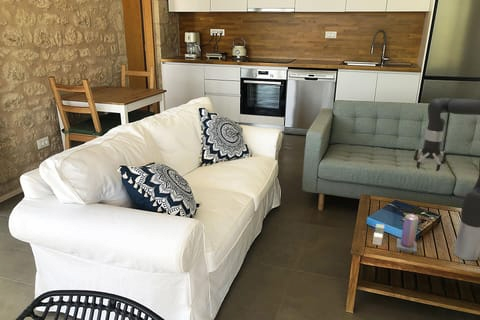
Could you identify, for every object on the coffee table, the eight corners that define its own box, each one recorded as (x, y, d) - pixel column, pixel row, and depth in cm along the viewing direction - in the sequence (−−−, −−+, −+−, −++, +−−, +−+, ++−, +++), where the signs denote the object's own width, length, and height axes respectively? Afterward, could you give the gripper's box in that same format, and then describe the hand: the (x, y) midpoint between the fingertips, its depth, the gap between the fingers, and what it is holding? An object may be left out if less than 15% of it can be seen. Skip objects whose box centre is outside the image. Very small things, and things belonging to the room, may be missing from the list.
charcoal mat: (416, 243, 192) (416, 241, 191) (416, 253, 184) (417, 251, 183) (396, 240, 195) (396, 238, 194) (396, 249, 187) (396, 247, 186)
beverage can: (399, 245, 187) (404, 218, 182) (401, 240, 192) (405, 212, 187) (413, 249, 185) (418, 220, 180) (414, 243, 190) (419, 215, 185)
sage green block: (383, 232, 202) (384, 225, 200) (383, 236, 198) (384, 228, 197) (375, 231, 203) (376, 223, 202) (374, 234, 200) (375, 227, 198)
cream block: (381, 241, 193) (382, 233, 192) (381, 245, 190) (382, 237, 188) (373, 240, 194) (374, 232, 193) (372, 244, 191) (373, 236, 189)
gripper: (448, 138, 191) (442, 169, 197) (417, 135, 196) (411, 165, 202) (450, 142, 185) (443, 174, 190) (418, 139, 189) (412, 170, 195)
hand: (427, 169), depth 196 cm, fingers open, 8 cm apart
